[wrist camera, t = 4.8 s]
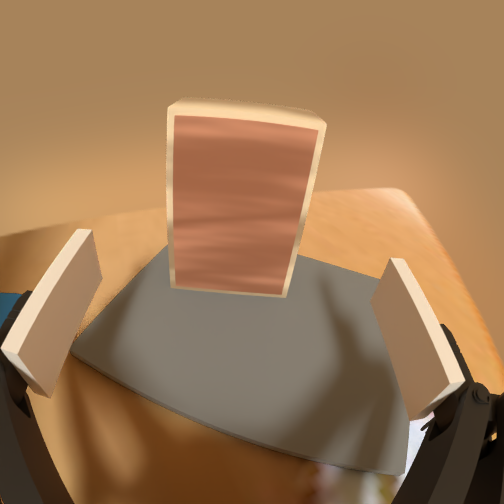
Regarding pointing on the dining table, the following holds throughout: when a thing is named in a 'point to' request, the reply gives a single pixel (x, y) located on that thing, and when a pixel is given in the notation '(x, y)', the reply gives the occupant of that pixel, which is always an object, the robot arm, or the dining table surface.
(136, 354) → the mat
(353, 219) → the dining table surface
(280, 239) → the birch board
